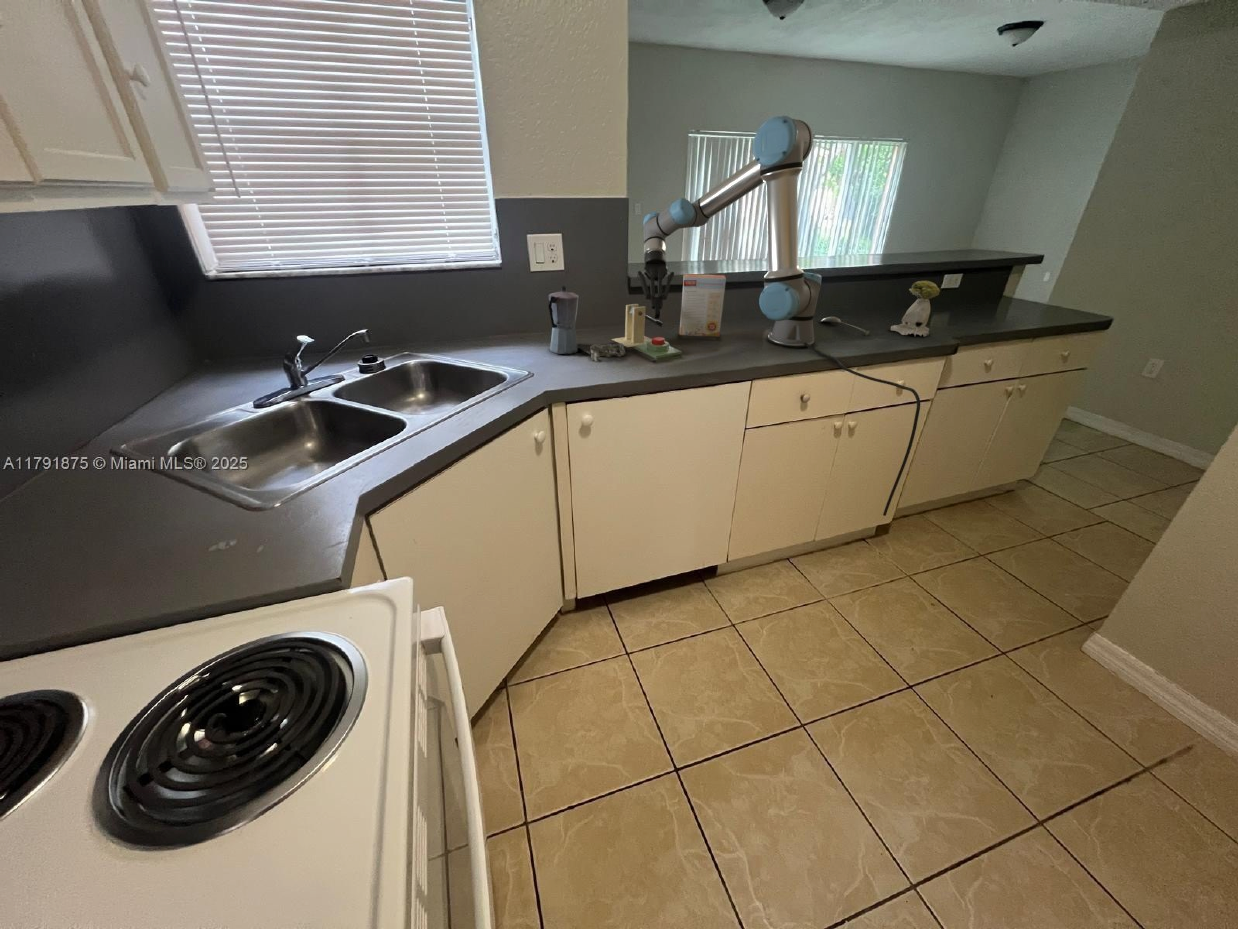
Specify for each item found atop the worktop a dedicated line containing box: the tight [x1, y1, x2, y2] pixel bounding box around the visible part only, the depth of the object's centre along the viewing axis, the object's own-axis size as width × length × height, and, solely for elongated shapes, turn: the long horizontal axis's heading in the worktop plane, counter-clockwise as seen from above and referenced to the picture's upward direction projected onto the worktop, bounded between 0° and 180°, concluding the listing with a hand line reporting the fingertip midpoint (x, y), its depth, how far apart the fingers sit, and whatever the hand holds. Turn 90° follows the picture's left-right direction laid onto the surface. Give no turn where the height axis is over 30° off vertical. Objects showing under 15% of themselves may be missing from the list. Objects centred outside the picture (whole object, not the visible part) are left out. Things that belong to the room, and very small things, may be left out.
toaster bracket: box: [611, 303, 652, 348], centre depth 161 cm, size 12×10×13 cm
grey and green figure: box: [890, 280, 941, 337], centre depth 179 cm, size 12×13×18 cm
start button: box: [651, 336, 666, 345], centre depth 152 cm, size 4×4×2 cm
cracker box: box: [679, 273, 727, 338], centre depth 168 cm, size 14×6×21 cm, turn 84°
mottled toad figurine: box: [589, 343, 626, 362], centre depth 151 cm, size 11×8×4 cm
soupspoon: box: [820, 316, 870, 336], centre depth 187 cm, size 22×3×7 cm
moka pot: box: [547, 285, 580, 355], centre depth 151 cm, size 10×15×20 cm, turn 161°
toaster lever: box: [629, 306, 664, 328], centre depth 161 cm, size 12×5×2 cm, turn 125°
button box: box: [633, 340, 683, 364], centre depth 154 cm, size 12×10×4 cm
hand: (657, 316), depth 164 cm, fingers closed
